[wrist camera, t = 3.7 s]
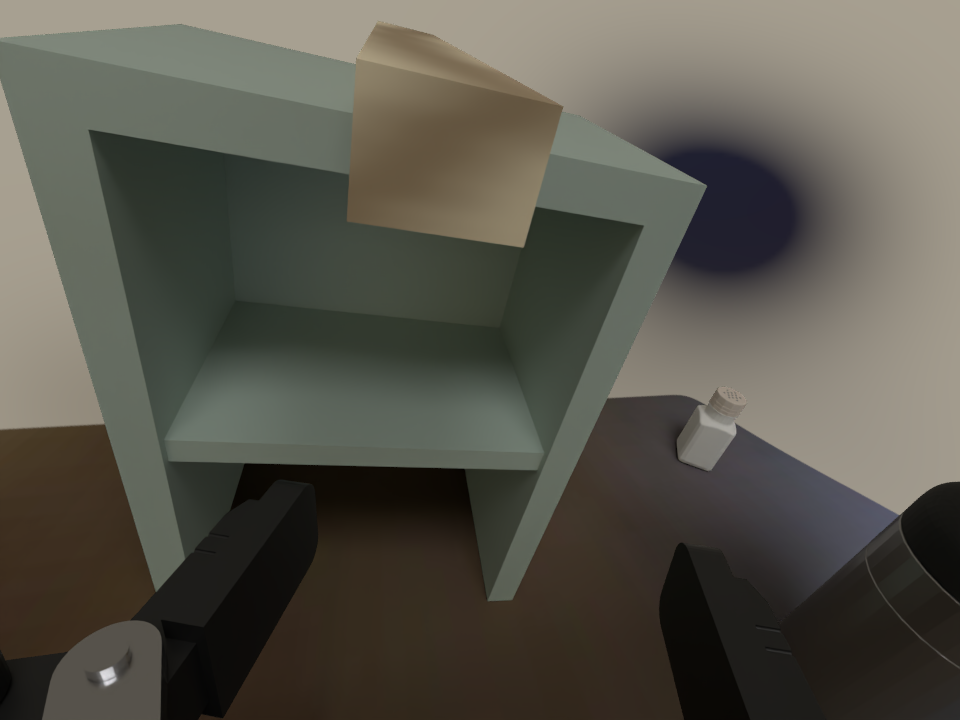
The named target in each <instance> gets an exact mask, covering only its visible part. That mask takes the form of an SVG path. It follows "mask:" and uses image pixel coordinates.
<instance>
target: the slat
mask: <svg viewBox="0 0 960 720" xmlns="http://www.w3.org/2000/svg"><path fill="white" fill-rule="evenodd" d="M562 109H563V106H561V105H559V104H558V103H556V102H554V101H552V100H550V99H549V98H547V97H545V96H543V95H541V94H539V93H538V92H536V91H534V90H532V89H530V88H529V87H527V86H525V85H523V84H521V83H520V82H518V81H516V80H514V79H512V78H510V77H509V76H507V75H505V74H503V73H501V72H500V71H498V70H496V69H494V68H492V67H490V66H489V65H487V64H485V63H483V62H481V61H480V60H478V59H476V58H474V57H472V56H471V55H468V54H467V53H465V52H463V51H461V50H459V49H458V48H456V47H454V46H452V45H451V44H449V43H447V42H445V41H443V40H441V39H440V38H438V37H436V36H434V35H431V34H427V33H424V32H419V31H416V30H411V29H408V28H404V27H400V26H396V25H392V24H388V23H384V22H380V21H378V22H377V24H376V26H375V27H374V29H373V31H372V32H371V34H370V36H369V37H368V39H367V41H366V43H365V44H364V46H363V48H362V49H361V51H360V53H359V55H358V56H357V58H356V71H355V88H354V105H353V122H352V139H351V156H350V173H349V190H348V207H347V222H354V223H361V224H368V225H374V226H381V227H388V228H394V229H401V230H408V231H415V232H421V233H428V234H435V235H441V236H448V237H455V238H462V239H468V240H475V241H482V242H488V243H495V244H502V245H509V246H515V247H522V248H524V245H525V241H526V238H527V234H528V231H529V227H530V224H531V220H532V216H533V213H534V209H535V206H536V202H537V199H538V195H539V191H540V188H541V184H542V181H543V177H544V174H545V170H546V166H547V163H548V159H549V156H550V152H551V149H552V145H553V141H554V138H555V134H556V131H557V127H558V124H559V120H560V116H561V113H562Z"/></svg>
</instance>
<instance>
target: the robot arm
mask: <svg viewBox="0 0 960 720" xmlns="http://www.w3.org/2000/svg"><path fill="white" fill-rule="evenodd" d="M317 542H318V528H317V513H316V497H315V489H314V486H313V485H312V484H306V483H300V482H293V481H287V480H277V481H275V482H274V483H273V484H272V486H271V487H270V488H269V489H268V490H267V492H266V493H265V494H264V495H263V496H262V498H261V499H260V500H259V501H258V500H251V499H249V500H247V501H245V502H244V503H242V504H241V505H239V506H237V507H236V508H234V509H233V510H231V511H229V512H228V513H226V514H225V515H224V516H223V518H222V519H221V520H220V521H219V522H218V523H217V524H216V525H215V527H214V528H213V529H212V530H211V531H210V532H209V535H208V537H205V538H204V539H203V540H202V541H201V542H200V543H199V544H198V546H197V547H196V548H195V551H194V553H190V555H189V556H188V557H187V558H186V559H185V560H184V561H183V562H182V564H181V565H180V566H179V567H178V568H177V569H176V570H175V571H174V573H173V574H172V575H171V576H170V577H169V578H168V579H167V580H166V581H165V583H164V584H163V585H162V586H161V587H160V588H159V589H158V590H157V592H156V593H155V594H154V595H153V596H152V597H151V598H150V599H149V601H148V602H147V603H146V604H145V605H144V606H143V607H142V608H141V610H140V611H139V612H138V613H137V614H136V615H135V616H134V617H133V618H132V619H131V620H130V621H125V622H120V623H116V624H112V625H110V626H107V627H105V628H102V629H100V630H98V631H96V632H94V633H93V634H91V635H89V636H88V637H86V638H85V639H83V640H82V641H81V642H79V643H78V644H77V645H75V646H74V647H73V648H72V649H71V650H70V651H69V652H64V653H58V654H50V655H43V656H35V657H28V658H21V659H13V660H6V661H5V659H4V657H3V654H2V652H1V650H0V720H198V719H199V717H200V716H201V714H203V715H208V716H214V717H219V718H223V717H224V716H225V714H226V712H227V710H228V709H229V707H230V705H231V703H232V702H233V700H234V698H235V696H236V695H237V693H238V691H239V689H240V688H241V686H242V684H243V682H244V681H245V679H246V677H247V675H248V674H249V672H250V670H251V668H252V667H253V665H254V663H255V661H256V660H257V658H258V656H259V654H260V653H261V651H262V649H263V647H264V646H265V644H266V642H267V640H268V639H269V637H270V635H271V633H272V632H273V630H274V628H275V626H276V625H277V623H278V621H279V619H280V618H281V616H282V614H283V612H284V611H285V609H286V607H287V605H288V604H289V602H290V600H291V598H292V597H293V595H294V593H295V591H296V590H297V588H298V586H299V584H300V583H301V581H302V579H303V577H304V576H305V574H306V572H307V570H308V569H309V567H310V565H311V563H312V561H313V558H314V555H315V552H316V548H317ZM659 614H660V624H661V628H662V632H663V636H664V640H665V644H666V648H667V652H668V656H669V660H670V664H671V668H672V672H673V676H674V681H675V685H676V689H677V693H678V697H679V701H680V705H681V709H682V713H683V717H684V720H960V482H949V483H944V484H941V485H938V486H936V487H933V488H932V489H930V490H928V491H927V492H926V493H925V494H923V495H922V496H920V497H919V498H918V499H917V500H916V501H915V502H914V503H913V504H912V505H911V506H910V507H908V508H907V509H906V510H905V511H904V512H903V513H902V514H901V515H899V516H898V517H897V518H896V519H895V520H894V521H893V522H892V523H890V524H889V525H888V526H887V527H886V528H885V529H884V530H883V531H882V532H880V533H879V534H878V535H877V536H876V537H875V538H874V539H873V540H872V541H871V542H870V543H869V544H868V545H866V546H865V547H864V548H863V549H862V550H861V551H860V552H859V553H858V554H856V555H855V556H854V557H853V558H852V559H851V560H850V561H849V562H848V563H846V564H845V565H844V566H843V567H842V568H841V569H840V570H839V571H838V572H836V573H835V574H834V575H833V576H832V577H831V578H830V579H829V580H827V581H826V582H825V583H824V584H823V585H822V586H821V587H820V588H819V589H817V590H816V591H815V592H814V593H813V594H812V595H811V596H810V597H809V598H807V599H806V600H805V601H804V602H803V603H802V604H801V605H800V606H799V607H797V608H796V609H795V610H794V611H793V612H792V613H791V614H790V615H789V616H787V617H786V618H785V619H784V620H783V621H782V622H780V623H779V624H778V622H777V620H776V618H775V616H774V614H773V612H772V610H771V608H770V606H769V604H768V603H767V601H766V600H765V599H764V598H763V597H762V596H761V595H760V594H759V593H758V592H757V591H756V589H755V588H754V587H753V586H752V585H751V584H750V583H749V582H748V581H747V580H746V579H741V578H735V577H733V575H732V572H731V570H730V568H729V566H728V564H727V561H726V559H725V557H724V555H723V553H722V552H721V550H719V549H718V548H713V547H706V546H700V545H693V544H687V543H680V544H679V545H678V546H677V548H676V550H675V553H674V556H673V559H672V562H671V565H670V568H669V571H668V574H667V577H666V580H665V583H664V586H663V589H662V592H661V596H660V605H659Z"/></svg>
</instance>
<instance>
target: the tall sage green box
mask: <svg viewBox="0 0 960 720" xmlns="http://www.w3.org/2000/svg"><path fill="white" fill-rule="evenodd" d="M355 71H356V64H352V63H348V62H344V61H339V60H334V59H331V58H326V57H322V56H317V55H313V54H309V53H304V52H300V51H295V50H291V49H287V48H283V47H278V46H274V45H270V44H265V43H261V42H256V41H252V40H248V39H243V38H239V37H235V36H230V35H226V34H222V33H217V32H213V31H209V30H204V29H199V28H196V27H191V26H187V25H182V24H177V25H164V26H151V27H138V28H125V29H112V30H98V31H85V32H73V33H60V34H59V33H58V34H45V35H32V36H19V37H8V38H7V37H6V38H0V79H1V83H2V86H3V90H4V93H5V96H6V99H7V103H8V106H9V110H10V113H11V116H12V119H13V123H14V126H15V129H16V133H17V135H18V139H19V142H20V146H21V149H22V152H23V155H24V159H25V162H26V165H27V168H28V172H29V175H30V179H31V182H32V185H33V188H34V192H35V195H36V198H37V202H38V205H39V208H40V212H41V215H42V218H43V221H44V225H45V228H46V231H47V235H48V238H49V241H50V244H51V248H52V251H53V254H54V258H55V261H56V264H57V267H58V271H59V274H60V277H61V281H62V284H63V287H64V290H65V294H66V297H67V300H68V304H69V307H70V310H71V314H72V317H73V320H74V323H75V327H76V330H77V333H78V337H79V339H80V343H81V346H82V349H83V353H84V356H85V360H86V363H87V366H88V370H89V373H90V376H91V379H92V383H93V386H94V389H95V393H96V396H97V399H98V402H99V406H100V409H101V412H102V416H103V419H104V422H105V426H106V429H107V432H108V435H109V439H110V442H111V445H112V449H113V452H114V455H115V458H116V462H117V465H118V468H119V472H120V475H121V478H122V481H123V485H124V488H125V491H126V495H127V498H128V501H129V505H130V508H131V511H132V514H133V518H134V521H135V524H136V528H137V531H138V534H139V537H140V541H141V544H142V547H143V551H144V554H145V557H146V560H147V564H148V567H149V570H150V574H151V577H152V580H153V584H154V587H155V590H156V592H157V590H158V589H159V588H160V587H161V586H162V585H163V584H164V583H165V581H166V580H167V579H168V578H169V577H170V576H171V575H172V574H173V573H174V571H175V570H176V569H177V568H178V567H179V566H180V565H181V564H182V562H183V561H184V560H185V559H186V558H187V557H188V556H189V555H190V553H194V551H195V548H196V547H197V546H198V544H199V543H200V542H201V541H202V540H203V539H204V538H205V537H208V535H209V532H210V531H211V530H212V529H213V528H214V527H215V525H216V524H217V523H218V522H219V521H220V520H221V519H222V518H223V516H224V515H225V514H226V513H228V512H229V511H230V509H231V506H232V503H233V499H234V496H235V493H236V490H237V487H238V483H239V480H240V477H241V474H242V470H243V467H244V464H245V463H261V464H301V465H342V466H382V467H423V468H463V469H465V474H466V479H467V485H468V491H469V497H470V503H471V508H472V514H473V520H474V526H475V532H476V537H477V543H478V549H479V555H480V561H481V566H482V572H483V578H484V584H485V590H486V596H487V601H503V600H512V599H513V597H514V595H515V593H516V591H517V589H518V587H519V584H520V582H521V580H522V578H523V576H524V574H525V572H526V570H527V567H528V565H529V563H530V561H531V559H532V557H533V555H534V553H535V550H536V548H537V546H538V544H539V542H540V540H541V538H542V536H543V533H544V531H545V529H546V527H547V525H548V523H549V521H550V519H551V516H552V514H553V512H554V510H555V508H556V506H557V504H558V502H559V499H560V497H561V495H562V493H563V491H564V489H565V487H566V485H567V482H568V480H569V478H570V476H571V474H572V472H573V470H574V468H575V465H576V463H577V461H578V459H579V457H580V455H581V453H582V451H583V448H584V446H585V444H586V442H587V440H588V438H589V436H590V434H591V431H592V429H593V427H594V425H595V423H596V421H597V419H598V417H599V414H600V412H601V410H602V408H603V406H604V404H605V402H606V400H607V397H608V395H609V393H610V391H611V389H612V387H613V385H614V382H615V380H616V378H617V376H618V374H619V372H620V370H621V367H622V366H623V363H624V361H625V359H626V357H627V355H628V353H629V350H630V349H631V346H632V344H633V342H634V340H635V338H636V336H637V334H638V332H639V329H640V327H641V325H642V323H643V321H644V319H645V316H646V315H647V312H648V310H649V308H650V306H651V304H652V302H653V300H654V297H655V295H656V293H657V291H658V289H659V287H660V285H661V283H662V280H663V278H664V276H665V274H666V272H667V270H668V268H669V266H670V264H671V261H672V259H673V257H674V255H675V253H676V251H677V249H678V246H679V244H680V242H681V240H682V238H683V236H684V234H685V232H686V230H687V227H688V225H689V223H690V221H691V219H692V217H693V215H694V213H695V210H696V208H697V206H698V204H699V202H700V200H701V198H702V195H703V193H704V191H705V189H706V187H707V186H706V185H705V184H703V183H701V182H699V181H697V180H695V179H694V178H692V177H690V176H688V175H686V174H685V173H683V172H681V171H679V170H677V169H675V168H674V167H672V166H670V165H668V164H666V163H665V162H663V161H661V160H659V159H657V158H656V157H654V156H652V155H650V154H648V153H647V152H645V151H643V150H641V149H639V148H637V147H636V146H634V145H632V144H630V143H628V142H627V141H625V140H623V139H621V138H619V137H617V136H615V135H614V134H612V133H610V132H608V131H607V130H605V129H603V128H601V127H599V126H598V125H596V124H594V123H592V122H590V121H588V120H587V119H585V118H583V117H581V116H578V115H574V114H570V113H565V112H562V113H561V116H560V120H559V124H558V127H557V131H556V134H555V138H554V141H553V145H552V149H551V152H550V156H549V159H548V163H547V166H546V170H545V174H544V177H543V181H542V184H541V188H540V191H539V195H538V199H537V202H536V206H535V209H534V213H533V216H532V220H531V224H530V227H529V231H528V234H527V238H526V241H525V245H524V248H522V247H515V246H509V245H502V244H495V243H488V242H482V241H475V240H468V239H462V238H455V237H448V236H441V235H435V234H428V233H421V232H415V231H408V230H401V229H394V228H388V227H381V226H374V225H368V224H361V223H354V222H347V207H348V190H349V173H350V156H351V139H352V122H353V105H354V88H355Z"/></svg>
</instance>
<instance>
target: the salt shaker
mask: <svg viewBox="0 0 960 720" xmlns="http://www.w3.org/2000/svg"><path fill="white" fill-rule="evenodd" d="M746 403H747V400H746V398H745V397H744V396H743V395H742V394H741V393H739V392H738V391H736V390H734V389H732V388H729V387H725V386H722V387H718V388H717V390H716V391H715V393H714V395H713V396H712V398H711V399H710V401H709V404H708V406H706V405H699V406H697V408H696V409H695V411H694V413H693V414H692V416H691V417H690V419H689V421H688V422H687V424H686V426H685V427H684V429H683V430H682V432H681V434H680V435H679V437H678V439H677V453H678V459H679V460H680V461H681V462H683V463H686V464H689V465H692V466H695V467H697V468H700V469H703V470H706V471H710V470H711V469H712V468H713V467H714V465H715V464H716V462H717V461H718V459H719V458H720V457H721V455H722V454H723V452H724V451H725V449H726V448H727V447H728V445H729V444H730V442H731V441H732V440H733V438H734V437H735V435H736V426H735V422H734V420H735V418H737V417H738V416H739V414H740V412H741V411H742V410H743V409H744V407H745V406H746Z"/></svg>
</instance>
